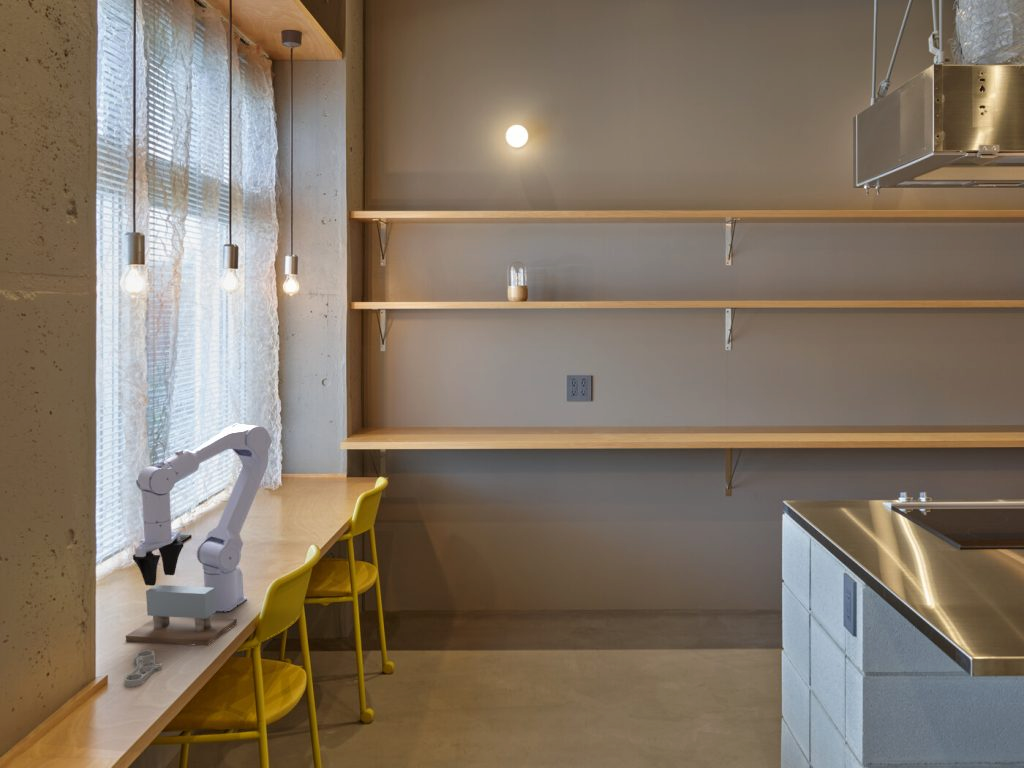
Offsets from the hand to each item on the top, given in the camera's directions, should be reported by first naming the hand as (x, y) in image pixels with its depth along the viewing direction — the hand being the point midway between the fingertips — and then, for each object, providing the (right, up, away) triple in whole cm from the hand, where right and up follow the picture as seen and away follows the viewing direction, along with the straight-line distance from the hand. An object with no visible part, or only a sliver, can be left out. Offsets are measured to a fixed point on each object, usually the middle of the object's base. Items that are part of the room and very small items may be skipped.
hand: (160, 579), depth 205 cm
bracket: (+6, -13, -24) cm, 28 cm away
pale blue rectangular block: (+6, -7, -4) cm, 10 cm away
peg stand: (+6, -11, -4) cm, 13 cm away
